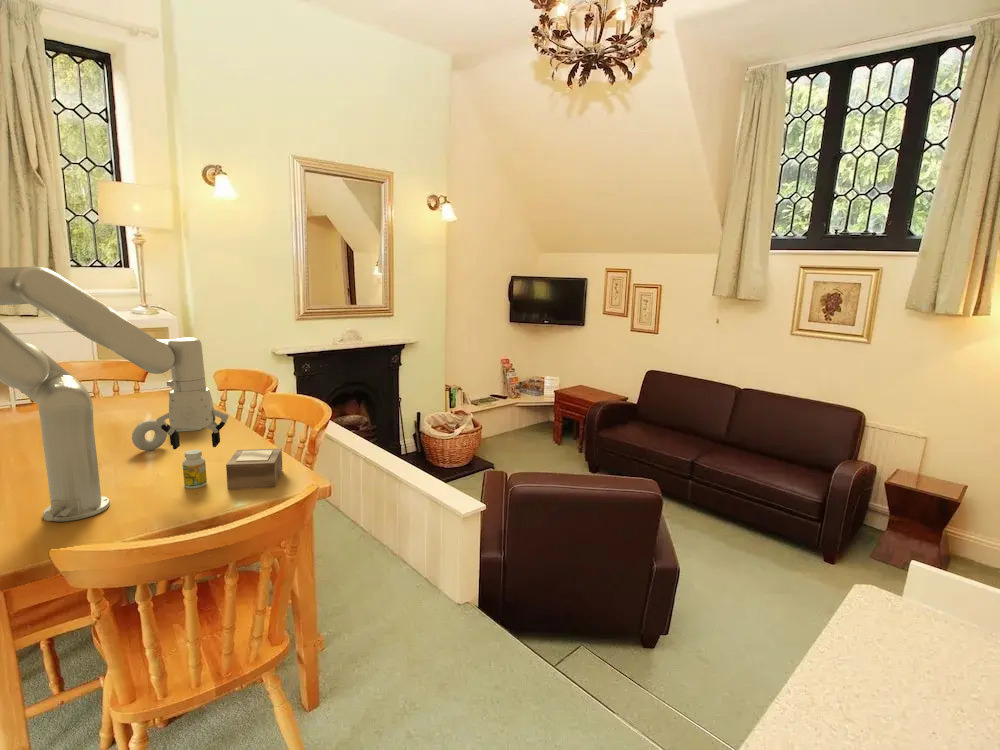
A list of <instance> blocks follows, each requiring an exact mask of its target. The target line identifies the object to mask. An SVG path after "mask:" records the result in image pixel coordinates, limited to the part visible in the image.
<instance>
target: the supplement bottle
mask: <svg viewBox="0 0 1000 750" xmlns="http://www.w3.org/2000/svg"><path fill="white" fill-rule="evenodd" d="M202 452H203V451H202V450H201V449H190V450H186V451H185V452H184V458H185V459H183V461H182V473H183V484H184V487H185V488H186V489H190V490H191V489H199V488H202V487H204V486H206V485H207V482H208V478H207V469H206V468H207V467H206V459H205V458H204V457H203V456H202V455H203V453H202Z"/></svg>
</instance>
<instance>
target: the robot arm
mask: <svg viewBox="0 0 1000 750" xmlns="http://www.w3.org/2000/svg"><path fill="white" fill-rule="evenodd" d="M27 304H28V305H31V306H32V307H34V308H36V309H38V310H39V311H41V312H43V313H44V314H46V315H48V316H49V317H51V318H53V319H54V320H56V321H58V322H60V323H61V324H63V325H65V326H66V327H67V328H70V329H72V330H74V331H75V332H76V333H79V334H80V335H81V336H84V338H85V337H86V338H87V339H88V340H90V341H92V342H93V343H97V344H99V345H101V346H103V347H105V348H106V349H108V350H109V351H111V352H113V353H115V354H116V355H118V356H120V357H121V358H123V359H125V360H127V361H128V362H131V363H132V364H133V365H135V366H137V367H139V368H140V369H142V370H143V371H145V372H147V373H150V374H155V375H157V374H158V375H160V374H164V373H167V372H168V371H170V373H171V380H168V381H166V386H167V387H171V389H172V391H170V390H169V391H170V395H169V394H168V412H167V413H165V414H163V415H161V416H159V417H158V418H157V419H155V420H156V421H157V422H158V424H159V425H160V426H161V428H162V429H163V430H164V431H165V432H167V436H169V441H170V446H172V450H176V449H178V448H179V447H180V446H181V442H180V433H179V432H177V431H176V430H177V429H193V428H202V429H204V428H205V429H206V428H209V430H211V434H210V435H211V445H212V448H216V447H217V446H218V445H219V444H220V442H221V435H220V431H221V430H222V429H223V427H224V426H225V425H226V424H227V421H228V420H229V418H230V414H227V413H225V412H222V411H220V410H217V409H215V406H214V402H213V398H212V393H211V392H210V391H211V390H210V388H209V387H207V384H206V373H205V366H204V365H205V364H204V356H203V345H202V342H201V340H200V339H199V338H196V337H178V338H173V339H158V338H155V337H153V336H152V335H150V334H149V333H147V332H146V331H144V330H143V329H141V328H139V327H138V326H136V325H135V324H133V323H132V322H130V321H129V320H127V319H126V318H125V317H123V316H122V315H121V314H119V313H118V312H117V311H116V310H114V309H113V308H111V307H110V306H109V305H107V304H105V303H104V302H103V301H101V300H99V299H97V298H95V297H94V296H93V295H91V294H89V293H88V292H87V291H85V290H83V289H81V288H80V287H78V286H77V285H75V283H72V282H71V281H69V280H67V279H66V278H64V277H63V276H61V275H60V274H59V273H57V272H55V271H53V270H51V269H49V268H46V267H43V266H35V265H34V266H32V265H31V266H17V267H16V266H12V267H10V266H7V267H1V266H0V306H13V305H14V306H15V305H17V306H18V305H27ZM0 382H1V383H2V384H3V385H5V386H6V387H10V388H12V389H16V390H19V391H20V392H21V393H22V394H23V395H25V396H26V397H28V399H30V400H31V401H32V402H34V403H35V404H37V407H38V414H39V420H40V427H41V437H42V445H43V454H44V459H45V460H44V461H45V470H46V475H47V484H48V485H47V486H48V491H49V492H48V494H49V499H50V505H49V506H47V507H46V508H45V509H44V510H43V513H42V518H43V520H45V521H50V522H71V521H77V520H78V521H79V520H81V519H86V518H89V517H93V516H95V515H98V514H100V513H103V512H104V511H106V510H107V508H109V506H110V502H111V501H110V498H108V497H106V496H104V495H102V492H101V484H100V483H101V482H100V473H99V464H98V463H99V462H98V455H97V453H98V452H97V445H96V437H95V436H96V435H95V424H94V405H93V400H92V397H91V394H90V393H89V391H88V389H86V387H85V386H84V385H83V384H82V382H80V380H79V379H78V378H77V377H75V376H74V375H72V374H71V373H70V372H69V371H68V370H67V369H66V368H64V367H63V366H61V365H60V364H59V363H58V362H56V360H54V359H53V358H52V357H51V356H50V355H49V354H47V353H46V352H44V351H43V350H42V349H41V348H40V347H38V346H35V345H34V344H32V343H27V342H25V341H24V340H23V339H21V338H20V337H19V336H17V335H16V334H15V333H14V332H13V331H11V330H10V329H9V328H8V327H7V326H6V325H4V324H3V323H2V322H0ZM216 417H217V418H218V419H219V418H220V422H219V424H218V423H217V422H216ZM167 420H169V421H168V422H169V424H168V423H167V422H166V421H167Z"/></svg>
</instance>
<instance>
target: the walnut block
mask: <svg viewBox="0 0 1000 750" xmlns="http://www.w3.org/2000/svg"><path fill="white" fill-rule="evenodd" d="M282 450H283V449H282V448H259V449H257V448H255V449H253V448H252V449H237V450H236V451H235V452H234V454H233V455H232V456H231V458H230V459H229V460H228V462H227V463H226V464H225V466H226V467H225V468H226V483H227V484H226V485H227V487H226V488H227V490H241V489H247V490H248V489H265V488H266V489H267V488H268V489H269V488H276V486H277V484H278V483H279V480H280V478H281V476H282V474H283V471H282V470H283V453H282V452H283V451H282ZM280 475H281V476H280ZM279 477H280V478H279Z"/></svg>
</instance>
